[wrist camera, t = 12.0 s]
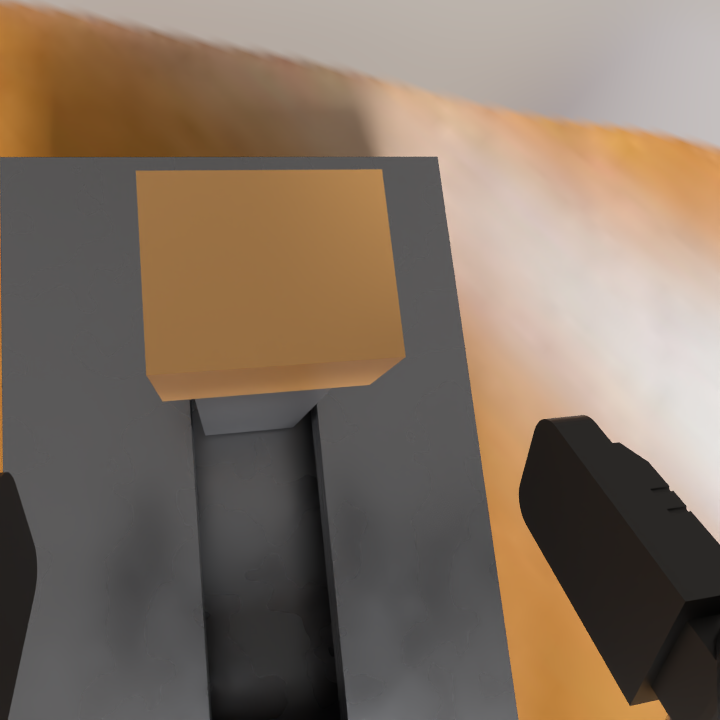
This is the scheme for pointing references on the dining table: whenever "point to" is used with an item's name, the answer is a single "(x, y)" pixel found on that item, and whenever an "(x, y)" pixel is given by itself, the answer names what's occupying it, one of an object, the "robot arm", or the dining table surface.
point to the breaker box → (239, 488)
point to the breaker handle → (265, 290)
